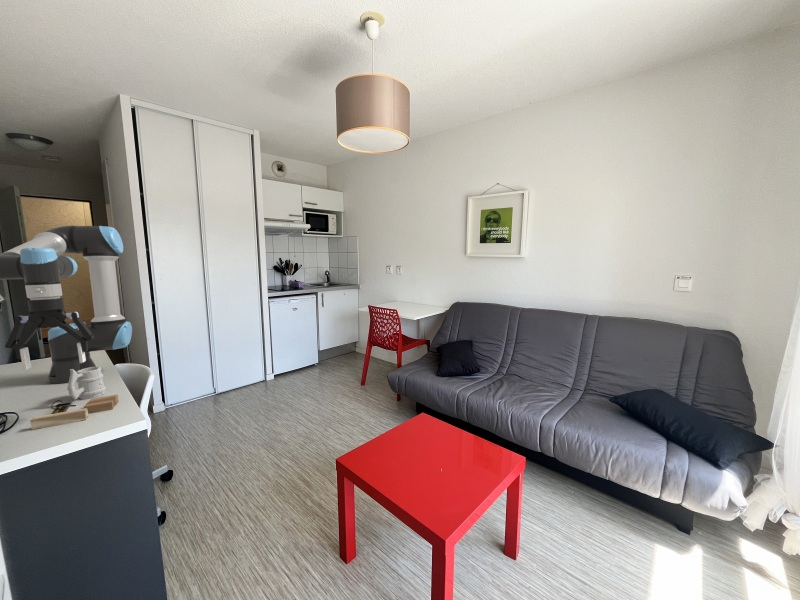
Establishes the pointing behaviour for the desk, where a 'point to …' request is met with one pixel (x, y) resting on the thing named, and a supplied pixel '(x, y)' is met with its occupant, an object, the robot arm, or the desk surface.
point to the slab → (102, 404)
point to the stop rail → (59, 418)
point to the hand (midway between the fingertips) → (55, 365)
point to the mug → (86, 383)
